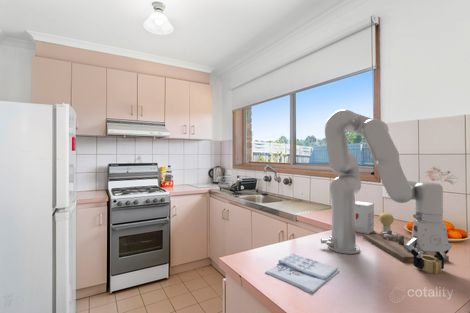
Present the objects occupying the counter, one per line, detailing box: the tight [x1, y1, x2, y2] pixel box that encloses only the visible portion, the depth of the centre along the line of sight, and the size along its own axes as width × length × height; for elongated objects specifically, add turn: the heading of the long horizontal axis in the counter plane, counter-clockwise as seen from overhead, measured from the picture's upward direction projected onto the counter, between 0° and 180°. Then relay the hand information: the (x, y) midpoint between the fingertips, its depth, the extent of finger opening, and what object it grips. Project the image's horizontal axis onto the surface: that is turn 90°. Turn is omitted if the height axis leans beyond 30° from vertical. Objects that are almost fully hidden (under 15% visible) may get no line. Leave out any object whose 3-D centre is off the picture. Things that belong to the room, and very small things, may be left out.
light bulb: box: [378, 212, 395, 232], centre depth 128 cm, size 6×6×10 cm
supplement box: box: [355, 200, 375, 235], centre depth 130 cm, size 9×9×15 cm
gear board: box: [363, 229, 450, 263], centre depth 105 cm, size 18×26×6 cm
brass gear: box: [417, 254, 442, 275], centre depth 86 cm, size 7×7×4 cm
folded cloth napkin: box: [264, 253, 340, 295], centre depth 84 cm, size 19×20×2 cm
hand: (428, 267), depth 86 cm, fingers closed on brass gear, 7 cm apart
